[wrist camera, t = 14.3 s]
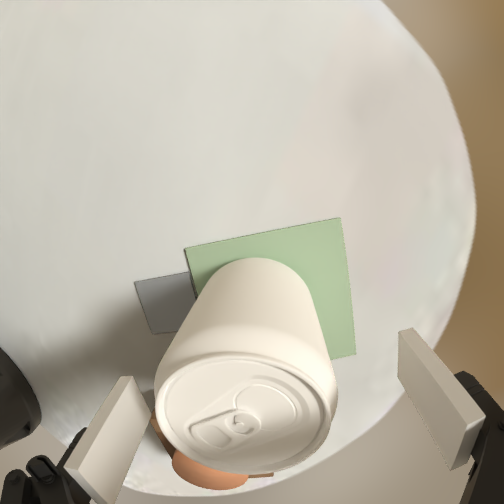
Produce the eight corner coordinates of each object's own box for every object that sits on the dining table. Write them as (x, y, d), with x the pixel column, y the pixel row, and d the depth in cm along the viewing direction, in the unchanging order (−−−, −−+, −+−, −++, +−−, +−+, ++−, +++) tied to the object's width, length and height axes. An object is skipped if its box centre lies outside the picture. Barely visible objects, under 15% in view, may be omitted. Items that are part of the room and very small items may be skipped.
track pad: (152, 333, 24) (152, 334, 24) (135, 281, 23) (134, 282, 23) (204, 326, 23) (204, 327, 23) (188, 271, 22) (188, 272, 22)
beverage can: (333, 316, 22) (376, 432, 11) (248, 371, 24) (232, 494, 12) (265, 231, 21) (257, 298, 10) (180, 298, 23) (108, 400, 11)
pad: (222, 375, 24) (222, 376, 24) (185, 248, 22) (185, 248, 22) (355, 352, 23) (356, 354, 23) (340, 217, 21) (340, 217, 21)
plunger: (199, 443, 26) (187, 489, 20) (179, 400, 25) (160, 448, 19) (259, 440, 25) (255, 488, 20) (245, 395, 24) (238, 447, 18)
